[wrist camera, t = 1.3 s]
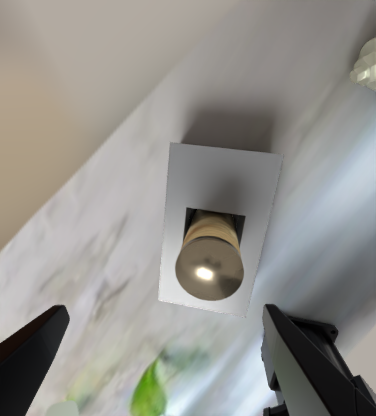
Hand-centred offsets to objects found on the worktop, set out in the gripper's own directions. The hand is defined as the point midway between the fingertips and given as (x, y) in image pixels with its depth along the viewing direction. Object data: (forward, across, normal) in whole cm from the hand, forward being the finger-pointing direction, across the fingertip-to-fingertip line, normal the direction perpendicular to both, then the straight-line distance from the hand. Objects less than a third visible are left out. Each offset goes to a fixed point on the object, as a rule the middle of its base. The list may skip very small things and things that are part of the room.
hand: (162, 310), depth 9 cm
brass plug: (+12, -3, +2) cm, 12 cm away
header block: (+12, -3, +2) cm, 12 cm away
